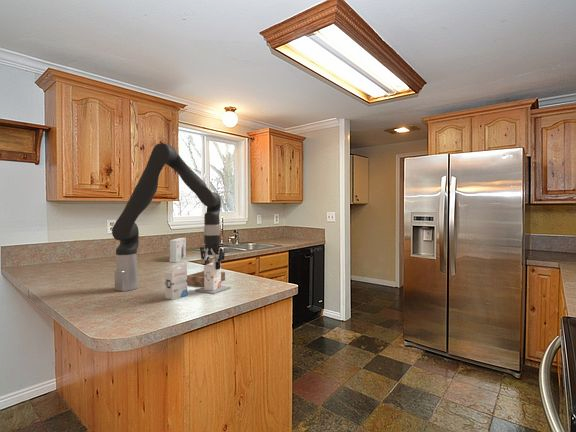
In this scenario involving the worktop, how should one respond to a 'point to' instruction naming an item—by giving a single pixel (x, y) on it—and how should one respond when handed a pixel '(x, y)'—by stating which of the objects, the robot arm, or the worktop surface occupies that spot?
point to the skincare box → (177, 249)
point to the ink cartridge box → (212, 276)
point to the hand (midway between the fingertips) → (212, 268)
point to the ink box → (176, 282)
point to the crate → (200, 278)
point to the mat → (220, 289)
